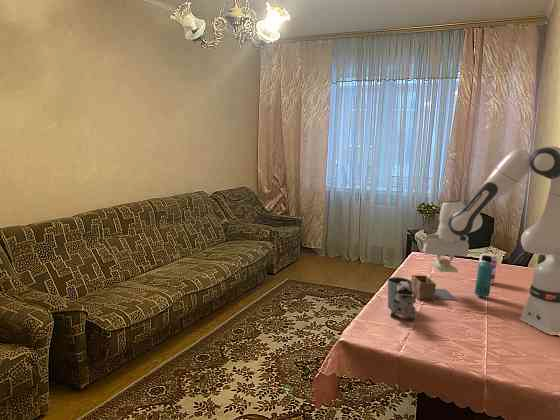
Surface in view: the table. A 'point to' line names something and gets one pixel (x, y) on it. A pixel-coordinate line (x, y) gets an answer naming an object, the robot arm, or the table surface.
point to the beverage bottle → (484, 277)
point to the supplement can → (493, 262)
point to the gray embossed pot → (394, 288)
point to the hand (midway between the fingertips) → (443, 264)
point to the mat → (443, 295)
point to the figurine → (404, 301)
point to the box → (423, 287)
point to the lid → (444, 265)
